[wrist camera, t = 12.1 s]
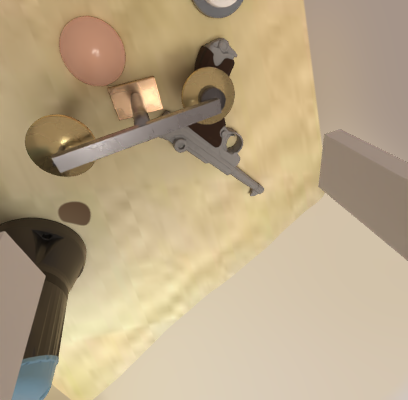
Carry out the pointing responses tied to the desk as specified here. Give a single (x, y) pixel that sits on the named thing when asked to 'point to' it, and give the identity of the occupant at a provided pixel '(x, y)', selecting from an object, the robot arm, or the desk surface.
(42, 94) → the desk surface
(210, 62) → the handgun
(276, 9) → the desk surface
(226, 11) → the dish slate
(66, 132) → the balance
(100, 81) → the pink disc
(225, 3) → the chess pawn
